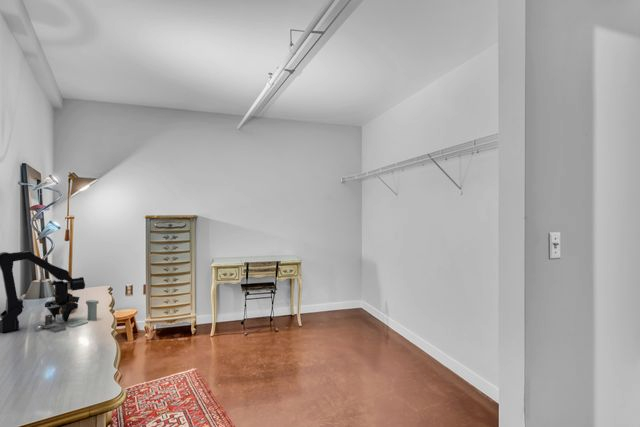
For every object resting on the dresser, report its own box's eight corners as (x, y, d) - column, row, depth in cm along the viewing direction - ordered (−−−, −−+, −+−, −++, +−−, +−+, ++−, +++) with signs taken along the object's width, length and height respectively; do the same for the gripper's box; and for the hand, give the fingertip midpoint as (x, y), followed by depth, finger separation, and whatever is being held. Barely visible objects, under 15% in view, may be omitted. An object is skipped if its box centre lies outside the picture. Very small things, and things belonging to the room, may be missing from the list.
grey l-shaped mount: (72, 327, 174) (72, 307, 174) (62, 325, 177) (62, 306, 177) (99, 319, 188) (99, 300, 188) (90, 318, 191) (90, 299, 191)
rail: (55, 333, 166) (55, 328, 166) (38, 329, 171) (38, 325, 171) (66, 329, 171) (66, 325, 171) (49, 326, 176) (49, 322, 176)
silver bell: (59, 324, 179) (59, 314, 179) (53, 323, 181) (53, 313, 181) (68, 322, 183) (68, 311, 184) (63, 321, 185) (63, 310, 185)
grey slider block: (38, 330, 166) (38, 319, 166) (33, 329, 167) (33, 318, 167) (55, 325, 173) (55, 314, 173) (50, 325, 175) (50, 314, 175)
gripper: (88, 290, 186) (87, 318, 186) (66, 287, 193) (65, 315, 193) (66, 294, 176) (66, 324, 176) (44, 292, 183) (44, 320, 183)
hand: (61, 320), depth 182 cm, fingers open, 7 cm apart
